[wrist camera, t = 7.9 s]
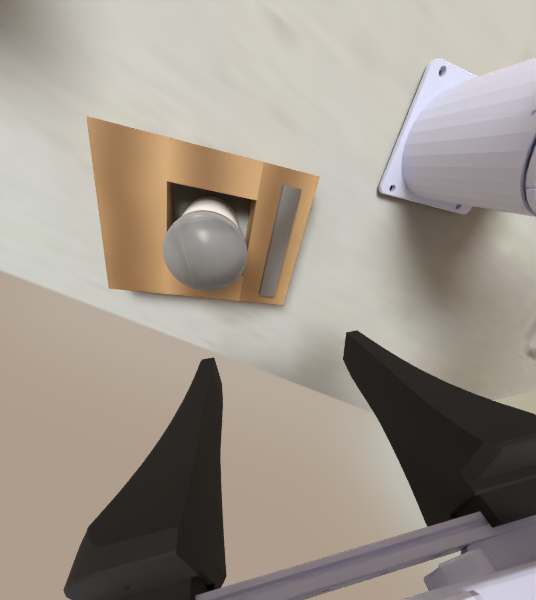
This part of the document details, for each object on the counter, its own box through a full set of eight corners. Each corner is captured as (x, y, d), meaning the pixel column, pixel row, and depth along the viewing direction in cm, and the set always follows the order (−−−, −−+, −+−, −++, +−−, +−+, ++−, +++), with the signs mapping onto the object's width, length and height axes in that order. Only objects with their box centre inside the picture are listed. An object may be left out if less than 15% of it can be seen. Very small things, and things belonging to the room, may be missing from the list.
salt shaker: (241, 199, 17) (252, 219, 11) (236, 253, 19) (242, 293, 13) (182, 190, 16) (160, 206, 10) (183, 247, 18) (164, 288, 12)
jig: (307, 175, 17) (322, 177, 15) (277, 291, 22) (284, 308, 19) (107, 123, 14) (81, 114, 11) (121, 273, 18) (105, 291, 16)
